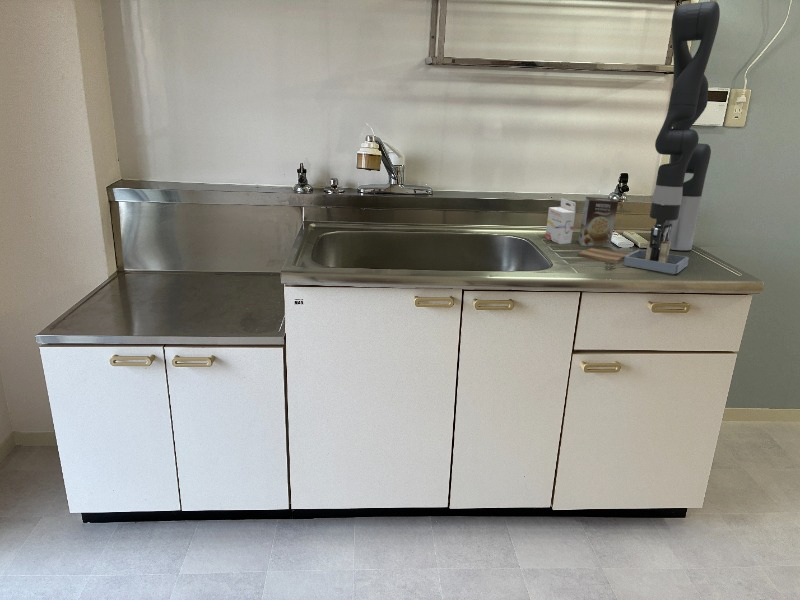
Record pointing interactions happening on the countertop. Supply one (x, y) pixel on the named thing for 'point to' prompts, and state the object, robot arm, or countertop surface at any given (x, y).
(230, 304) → the countertop surface
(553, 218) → the ink cartridge box
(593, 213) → the coffee box
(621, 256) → the board
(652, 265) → the bin
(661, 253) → the block
